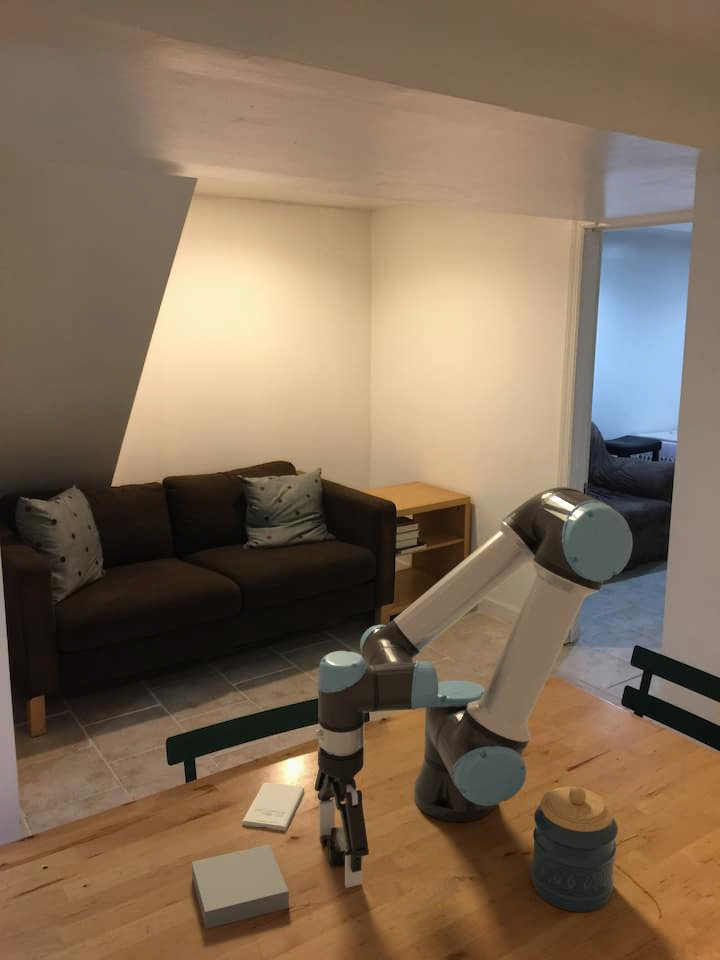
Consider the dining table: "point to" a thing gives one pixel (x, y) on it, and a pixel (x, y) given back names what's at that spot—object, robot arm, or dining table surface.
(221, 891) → the stand
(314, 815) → the dining table surface
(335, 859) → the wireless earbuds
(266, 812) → the external hard drive
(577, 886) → the canister
